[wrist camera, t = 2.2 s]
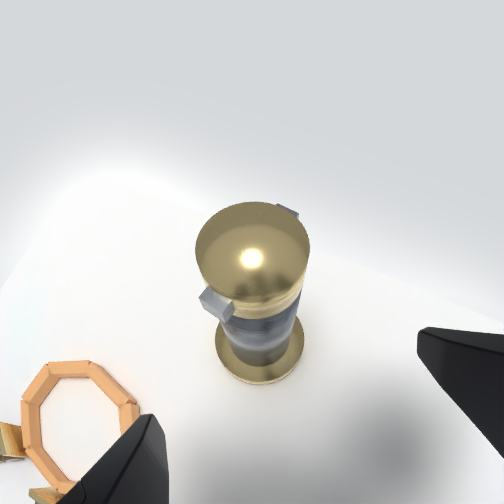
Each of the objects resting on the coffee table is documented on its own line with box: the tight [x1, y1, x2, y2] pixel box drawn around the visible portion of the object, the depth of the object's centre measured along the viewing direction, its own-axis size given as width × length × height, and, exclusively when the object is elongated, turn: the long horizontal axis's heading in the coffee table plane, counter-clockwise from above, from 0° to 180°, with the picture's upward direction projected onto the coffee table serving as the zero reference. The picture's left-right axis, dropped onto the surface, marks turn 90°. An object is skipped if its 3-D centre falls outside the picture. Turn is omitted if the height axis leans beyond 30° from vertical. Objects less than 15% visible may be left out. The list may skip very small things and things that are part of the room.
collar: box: [21, 360, 140, 494], centre depth 16 cm, size 11×11×2 cm
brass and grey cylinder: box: [195, 202, 310, 385], centre depth 16 cm, size 6×6×12 cm
